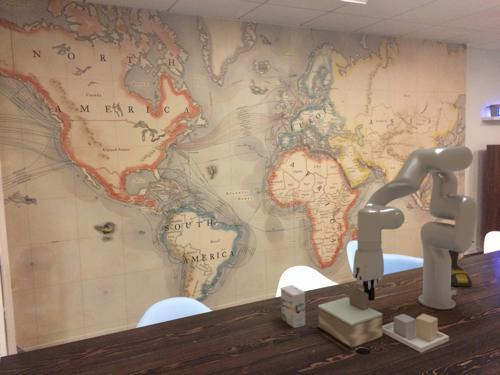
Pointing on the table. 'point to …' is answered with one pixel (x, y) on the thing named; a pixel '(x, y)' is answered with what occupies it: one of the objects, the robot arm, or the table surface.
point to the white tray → (415, 339)
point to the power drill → (458, 272)
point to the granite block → (405, 326)
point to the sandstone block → (426, 327)
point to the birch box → (350, 329)
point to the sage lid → (351, 308)
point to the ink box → (293, 306)
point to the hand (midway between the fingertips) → (369, 298)
